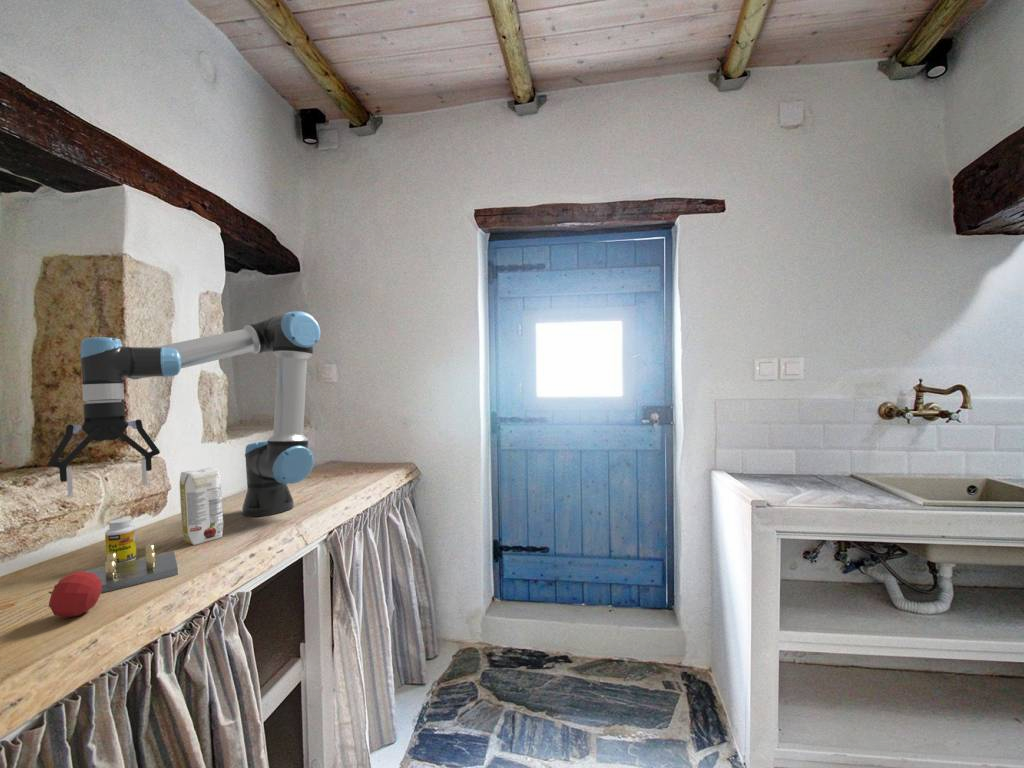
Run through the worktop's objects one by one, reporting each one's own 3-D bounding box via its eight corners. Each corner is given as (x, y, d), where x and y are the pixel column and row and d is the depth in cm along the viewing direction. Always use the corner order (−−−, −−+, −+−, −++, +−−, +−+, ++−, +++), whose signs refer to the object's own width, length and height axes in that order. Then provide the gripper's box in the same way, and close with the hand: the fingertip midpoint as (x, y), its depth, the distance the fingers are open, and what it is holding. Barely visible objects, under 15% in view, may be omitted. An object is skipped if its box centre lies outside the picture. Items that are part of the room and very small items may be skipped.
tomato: (104, 563, 88) (55, 562, 86) (81, 603, 82) (27, 603, 80) (113, 585, 93) (66, 585, 91) (91, 625, 87) (40, 626, 85)
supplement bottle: (104, 569, 109) (102, 525, 109) (108, 561, 114) (106, 520, 114) (135, 562, 112) (132, 520, 112) (138, 556, 117) (135, 515, 117)
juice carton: (226, 537, 129) (222, 468, 129) (190, 547, 122) (186, 474, 122) (215, 532, 133) (211, 466, 133) (180, 542, 126) (176, 472, 126)
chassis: (174, 557, 115) (173, 537, 115) (178, 574, 104) (176, 551, 104) (86, 577, 105) (85, 555, 105) (80, 598, 94) (78, 573, 94)
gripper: (166, 398, 124) (170, 478, 124) (32, 405, 107) (37, 497, 108) (169, 398, 118) (174, 482, 118) (28, 405, 102) (33, 502, 102)
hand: (109, 489), depth 113 cm, fingers open, 13 cm apart
